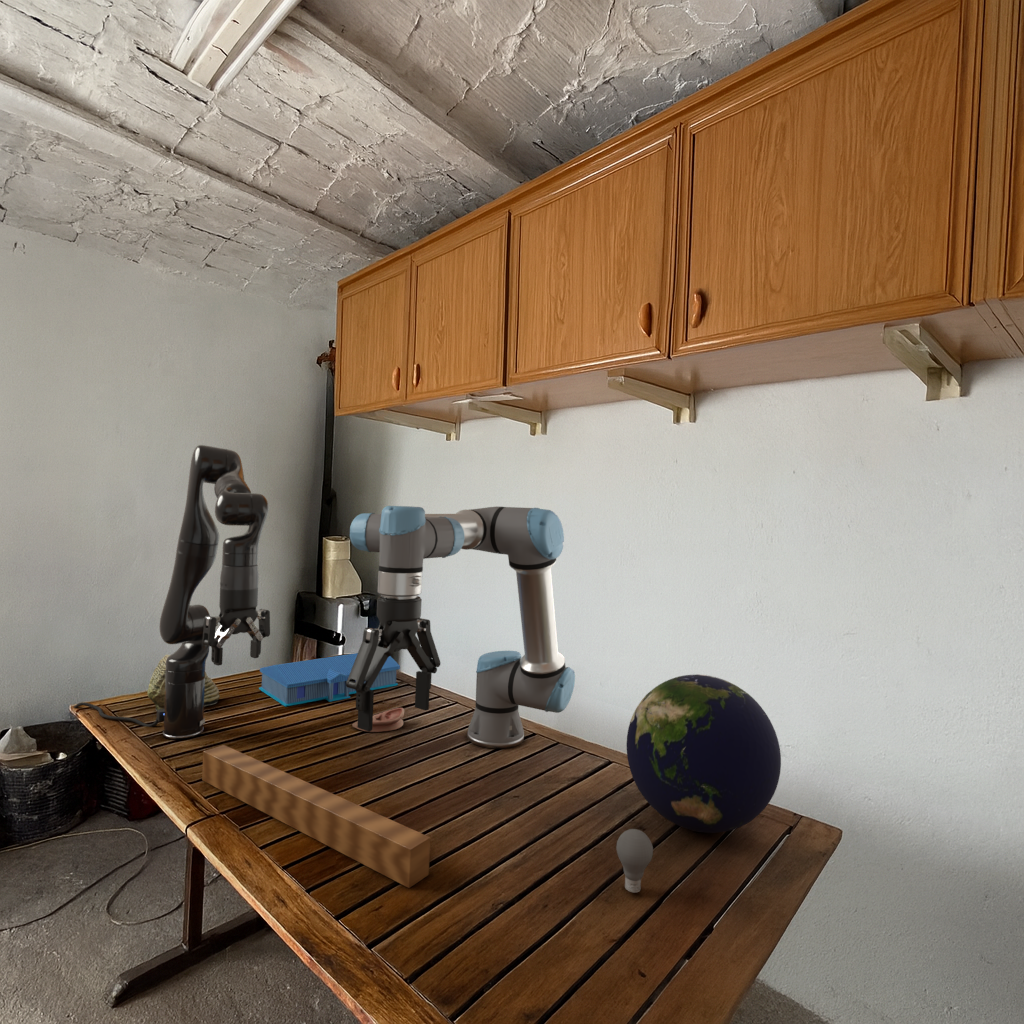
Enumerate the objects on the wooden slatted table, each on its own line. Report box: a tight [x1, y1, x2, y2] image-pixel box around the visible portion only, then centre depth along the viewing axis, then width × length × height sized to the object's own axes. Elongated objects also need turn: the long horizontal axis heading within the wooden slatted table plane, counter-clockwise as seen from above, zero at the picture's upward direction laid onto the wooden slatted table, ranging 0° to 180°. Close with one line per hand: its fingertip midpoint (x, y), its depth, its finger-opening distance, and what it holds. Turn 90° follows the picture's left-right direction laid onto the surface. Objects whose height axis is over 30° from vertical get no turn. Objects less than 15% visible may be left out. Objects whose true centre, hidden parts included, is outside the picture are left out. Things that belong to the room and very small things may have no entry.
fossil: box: [147, 654, 221, 711], centre depth 185 cm, size 9×18×15 cm, turn 132°
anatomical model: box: [351, 707, 405, 733], centre depth 176 cm, size 13×4×12 cm
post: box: [201, 744, 431, 889], centre depth 123 cm, size 62×5×6 cm, turn 56°
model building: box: [258, 652, 401, 707], centre depth 208 cm, size 39×24×10 cm, turn 132°
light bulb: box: [615, 828, 654, 894], centre depth 106 cm, size 6×6×10 cm
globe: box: [626, 673, 782, 834], centre depth 129 cm, size 30×30×30 cm
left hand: (236, 661), depth 136 cm, fingers open, 8 cm apart
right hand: (394, 718), depth 109 cm, fingers open, 13 cm apart
